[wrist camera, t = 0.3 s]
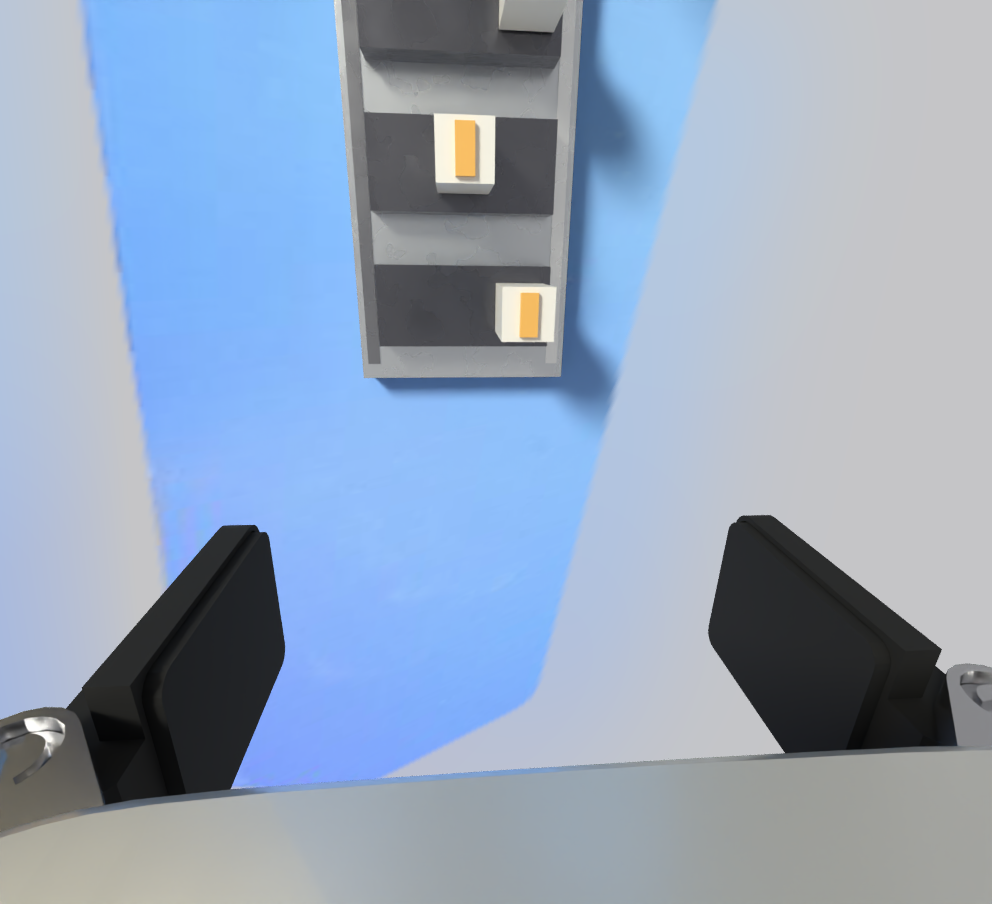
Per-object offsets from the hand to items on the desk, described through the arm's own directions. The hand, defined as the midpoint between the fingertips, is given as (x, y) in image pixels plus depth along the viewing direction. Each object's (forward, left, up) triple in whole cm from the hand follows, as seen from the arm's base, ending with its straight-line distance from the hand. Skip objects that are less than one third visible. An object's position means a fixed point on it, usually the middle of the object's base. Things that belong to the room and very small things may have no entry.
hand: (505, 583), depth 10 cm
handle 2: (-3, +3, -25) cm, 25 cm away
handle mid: (-11, 0, -25) cm, 27 cm away
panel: (-11, 0, -29) cm, 31 cm away
